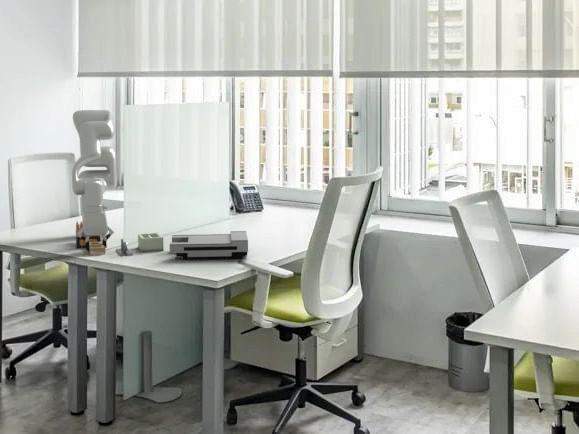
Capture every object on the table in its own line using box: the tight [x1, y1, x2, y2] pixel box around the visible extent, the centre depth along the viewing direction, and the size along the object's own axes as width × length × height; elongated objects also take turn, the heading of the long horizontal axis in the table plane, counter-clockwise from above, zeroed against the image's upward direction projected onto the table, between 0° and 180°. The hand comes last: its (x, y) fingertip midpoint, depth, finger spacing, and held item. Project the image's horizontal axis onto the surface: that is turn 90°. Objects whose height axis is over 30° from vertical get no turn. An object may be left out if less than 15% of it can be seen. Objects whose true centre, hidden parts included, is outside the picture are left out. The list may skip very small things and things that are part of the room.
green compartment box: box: [137, 232, 164, 253], centre depth 329 cm, size 11×9×6 cm
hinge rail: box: [115, 238, 134, 257], centre depth 322 cm, size 13×5×5 cm, turn 22°
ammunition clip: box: [75, 220, 101, 249], centre depth 332 cm, size 11×2×12 cm, turn 105°
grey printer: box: [169, 230, 249, 261], centre depth 319 cm, size 21×32×8 cm, turn 96°
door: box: [89, 242, 106, 256], centre depth 324 cm, size 13×6×3 cm, turn 22°
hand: (96, 249), depth 324 cm, fingers closed on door, 6 cm apart
